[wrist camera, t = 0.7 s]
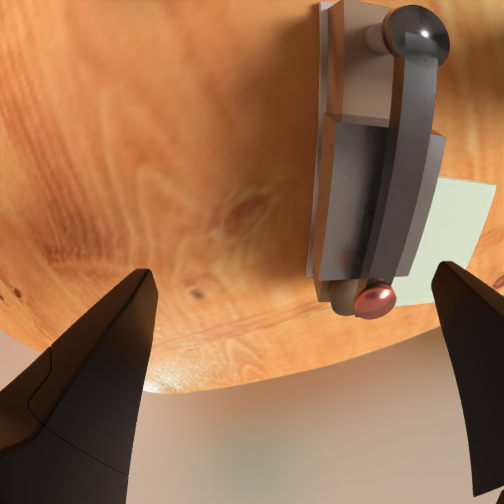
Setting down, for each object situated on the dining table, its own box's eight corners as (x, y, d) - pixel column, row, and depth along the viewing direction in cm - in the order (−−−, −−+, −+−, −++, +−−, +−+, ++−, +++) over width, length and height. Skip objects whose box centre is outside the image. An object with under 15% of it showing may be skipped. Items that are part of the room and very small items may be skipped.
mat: (493, 183, 19) (496, 185, 19) (448, 296, 27) (450, 300, 27) (386, 169, 19) (389, 172, 19) (354, 305, 28) (355, 309, 27)
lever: (380, 0, 7) (396, -5, 6) (436, 17, 7) (456, 16, 6) (342, 305, 17) (348, 324, 16) (383, 302, 17) (390, 320, 16)
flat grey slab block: (422, 124, 13) (446, 137, 11) (394, 252, 19) (408, 276, 17) (323, 112, 13) (336, 122, 11) (311, 254, 19) (318, 280, 17)
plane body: (318, 2, 12) (352, -24, 7) (389, 15, 12) (448, 5, 7) (305, 272, 25) (318, 336, 20) (358, 270, 25) (380, 330, 19)
